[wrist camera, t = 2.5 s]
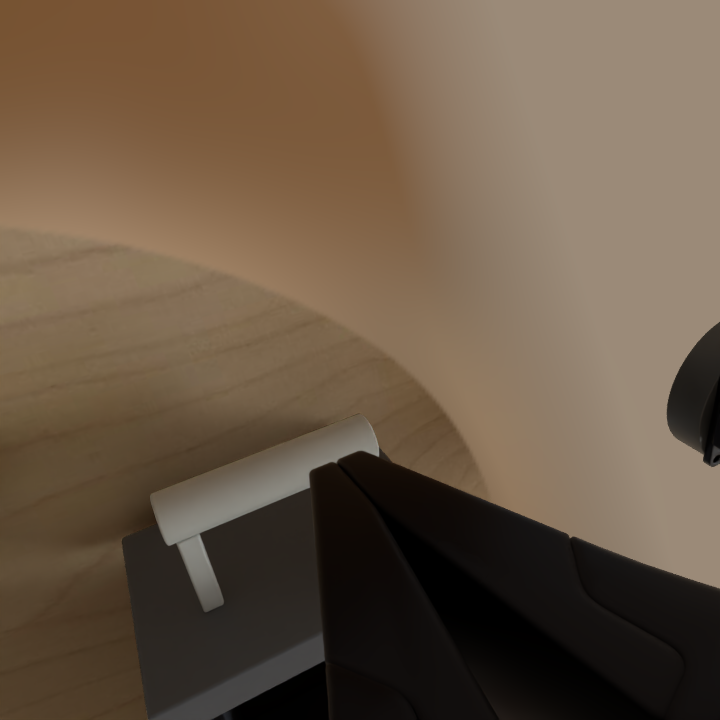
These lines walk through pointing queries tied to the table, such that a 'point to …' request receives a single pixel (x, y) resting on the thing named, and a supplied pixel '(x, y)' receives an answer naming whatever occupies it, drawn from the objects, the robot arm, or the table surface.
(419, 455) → the table surface
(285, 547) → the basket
